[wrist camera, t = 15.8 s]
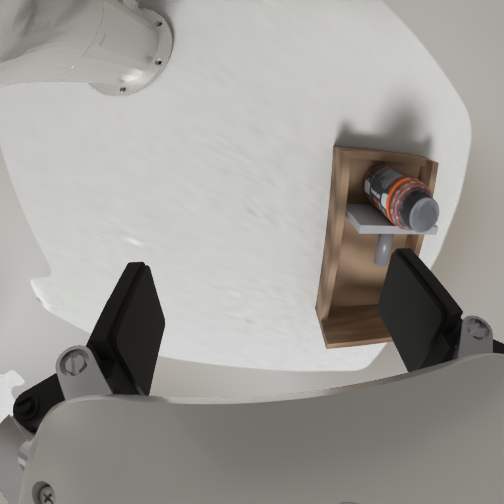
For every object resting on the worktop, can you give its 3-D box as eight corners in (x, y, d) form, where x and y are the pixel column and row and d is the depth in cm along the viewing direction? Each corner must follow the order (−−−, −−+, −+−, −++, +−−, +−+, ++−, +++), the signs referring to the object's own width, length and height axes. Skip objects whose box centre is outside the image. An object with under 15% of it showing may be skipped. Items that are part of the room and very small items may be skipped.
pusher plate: (342, 203, 35) (360, 225, 29) (412, 206, 35) (438, 227, 29) (335, 250, 39) (350, 278, 33) (402, 249, 39) (424, 274, 33)
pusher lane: (333, 145, 33) (359, 159, 25) (422, 156, 33) (460, 173, 25) (315, 308, 46) (326, 348, 38) (389, 303, 46) (408, 338, 38)
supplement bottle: (353, 193, 35) (390, 228, 25) (373, 154, 32) (420, 176, 22) (386, 211, 36) (427, 249, 26) (406, 175, 34) (454, 204, 24)
